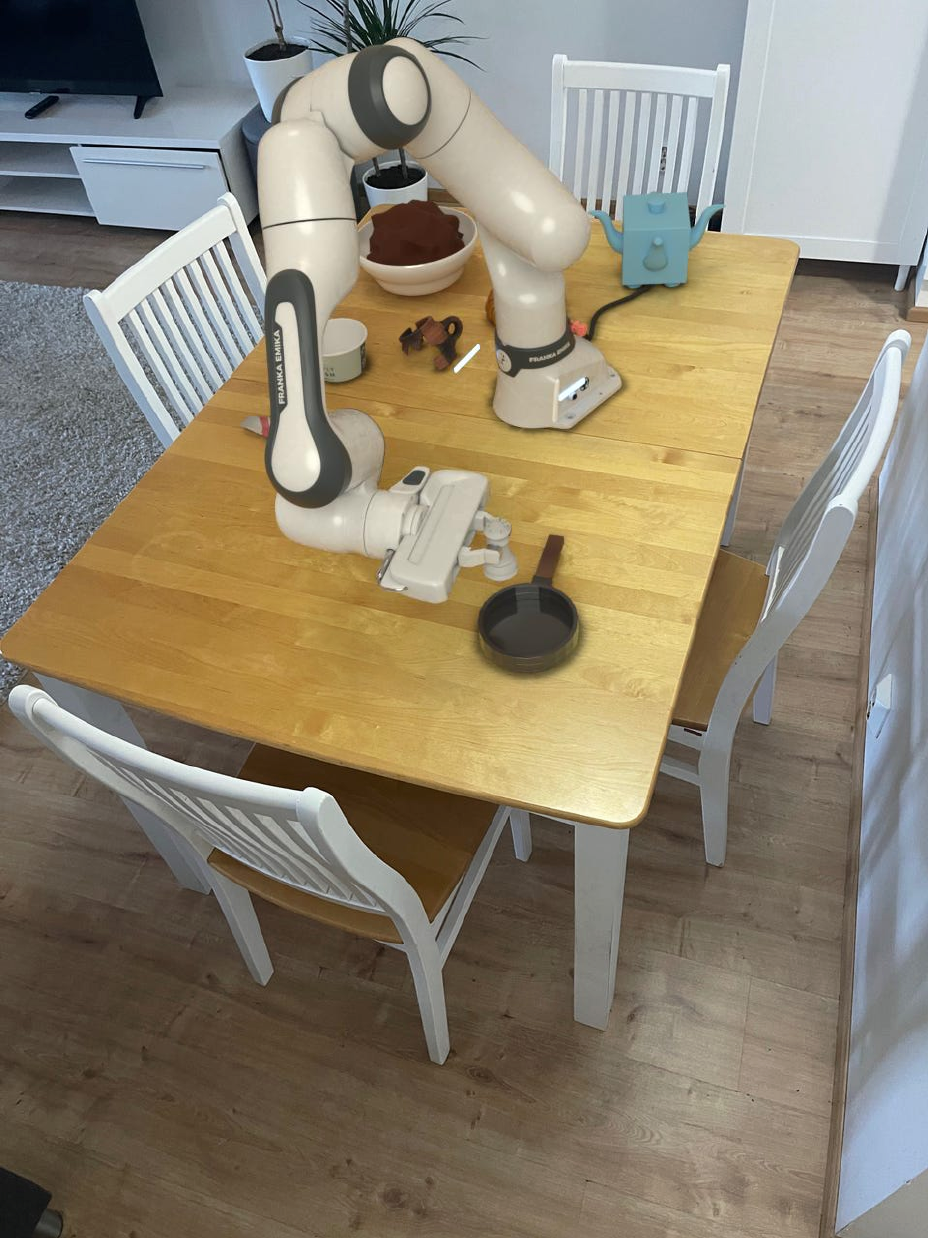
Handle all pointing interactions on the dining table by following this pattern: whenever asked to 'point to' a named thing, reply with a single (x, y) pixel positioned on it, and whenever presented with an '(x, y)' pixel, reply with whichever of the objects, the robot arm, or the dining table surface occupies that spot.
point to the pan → (528, 627)
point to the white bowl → (417, 247)
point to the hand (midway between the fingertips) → (505, 543)
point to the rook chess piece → (508, 563)
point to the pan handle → (549, 560)
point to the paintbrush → (257, 424)
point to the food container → (344, 349)
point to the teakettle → (655, 237)
